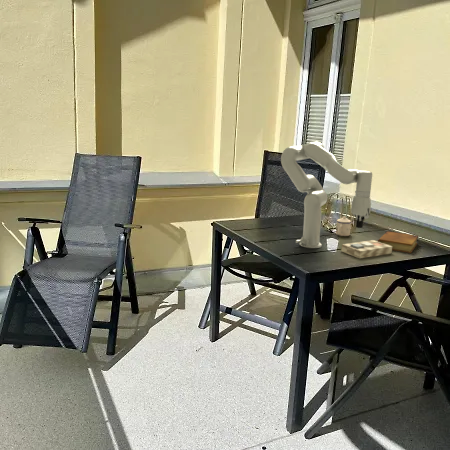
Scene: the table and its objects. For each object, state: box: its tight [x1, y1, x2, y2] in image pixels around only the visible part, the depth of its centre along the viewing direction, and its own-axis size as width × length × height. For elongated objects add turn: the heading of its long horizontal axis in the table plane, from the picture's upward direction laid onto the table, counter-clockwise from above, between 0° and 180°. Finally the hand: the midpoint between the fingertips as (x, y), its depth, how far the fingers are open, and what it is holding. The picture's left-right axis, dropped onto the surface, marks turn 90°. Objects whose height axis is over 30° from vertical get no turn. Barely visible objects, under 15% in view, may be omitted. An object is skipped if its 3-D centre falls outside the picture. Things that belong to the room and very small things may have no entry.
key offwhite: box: [361, 242, 374, 247], centre depth 246 cm, size 5×5×2 cm
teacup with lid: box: [335, 216, 352, 237], centre depth 282 cm, size 12×9×12 cm
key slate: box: [351, 243, 364, 249], centre depth 242 cm, size 5×5×2 cm
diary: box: [377, 231, 419, 254], centre depth 262 cm, size 23×19×6 cm
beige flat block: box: [340, 239, 393, 259], centre depth 246 cm, size 24×14×4 cm, turn 118°
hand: (359, 227), depth 240 cm, fingers closed
